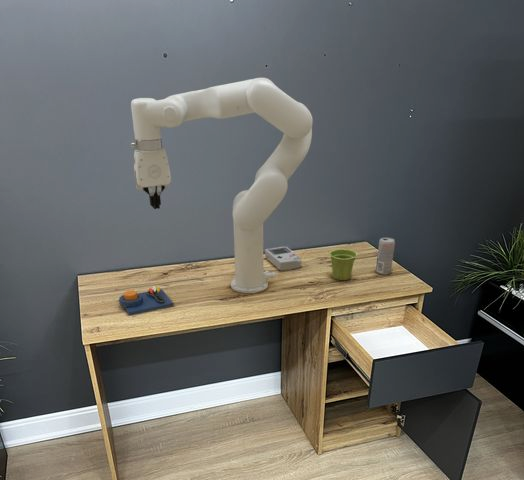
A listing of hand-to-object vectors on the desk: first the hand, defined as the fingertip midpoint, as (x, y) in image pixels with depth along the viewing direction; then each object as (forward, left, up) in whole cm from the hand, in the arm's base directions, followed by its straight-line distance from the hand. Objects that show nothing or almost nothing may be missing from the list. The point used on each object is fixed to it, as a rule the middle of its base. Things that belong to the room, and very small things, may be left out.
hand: (155, 207), depth 160 cm
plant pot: (-58, +20, -27) cm, 67 cm away
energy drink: (-74, +23, -27) cm, 82 cm away
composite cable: (+6, +9, -26) cm, 28 cm away
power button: (+13, +9, -24) cm, 29 cm away
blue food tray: (+9, +9, -27) cm, 30 cm away
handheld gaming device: (-46, -1, -27) cm, 54 cm away
